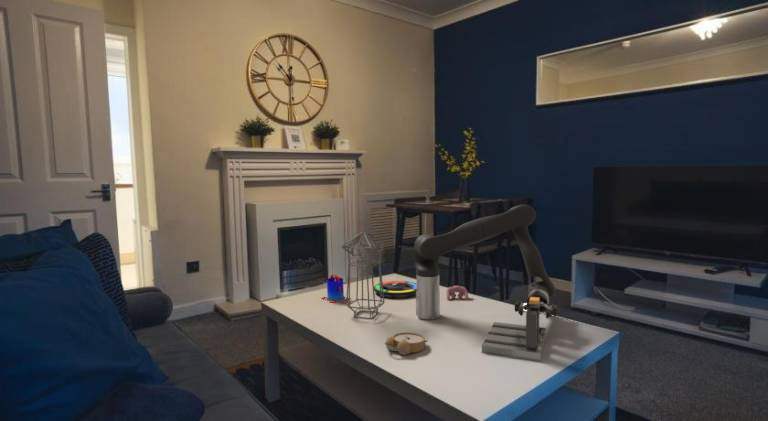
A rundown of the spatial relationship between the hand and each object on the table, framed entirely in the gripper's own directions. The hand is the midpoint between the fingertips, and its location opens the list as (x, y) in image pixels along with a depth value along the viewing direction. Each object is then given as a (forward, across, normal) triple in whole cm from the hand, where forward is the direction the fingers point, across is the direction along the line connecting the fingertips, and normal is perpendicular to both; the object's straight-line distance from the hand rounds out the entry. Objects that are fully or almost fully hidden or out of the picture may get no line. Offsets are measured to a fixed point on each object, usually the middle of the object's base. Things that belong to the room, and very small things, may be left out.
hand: (534, 314), depth 149 cm
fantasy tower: (-19, -90, +9) cm, 93 cm away
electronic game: (-39, -67, +10) cm, 78 cm away
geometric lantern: (-4, -67, +9) cm, 68 cm away
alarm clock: (+23, -39, +10) cm, 46 cm away
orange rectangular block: (-2, 0, +6) cm, 6 cm away
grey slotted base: (+6, -6, +9) cm, 12 cm away
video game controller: (-38, -37, +9) cm, 54 cm away
